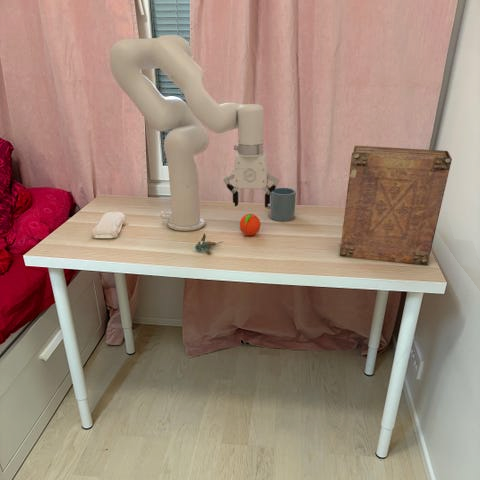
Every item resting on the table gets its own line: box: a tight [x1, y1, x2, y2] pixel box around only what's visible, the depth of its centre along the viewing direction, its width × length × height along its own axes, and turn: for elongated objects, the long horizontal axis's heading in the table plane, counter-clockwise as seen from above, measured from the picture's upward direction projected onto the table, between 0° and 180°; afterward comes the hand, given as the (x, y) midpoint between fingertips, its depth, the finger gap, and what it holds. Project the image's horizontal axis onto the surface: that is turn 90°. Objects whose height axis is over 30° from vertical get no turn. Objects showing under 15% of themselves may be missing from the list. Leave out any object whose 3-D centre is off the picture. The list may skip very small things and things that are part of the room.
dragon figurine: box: [194, 233, 223, 255], centre depth 147 cm, size 6×7×8 cm
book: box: [339, 145, 453, 266], centre depth 136 cm, size 25×9×30 cm, turn 75°
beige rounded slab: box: [91, 211, 127, 239], centre depth 160 cm, size 18×8×4 cm, turn 179°
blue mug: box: [264, 187, 297, 222], centre depth 171 cm, size 12×9×10 cm
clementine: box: [239, 213, 261, 236], centre depth 155 cm, size 8×7×7 cm
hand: (251, 205), depth 152 cm, fingers open, 9 cm apart
